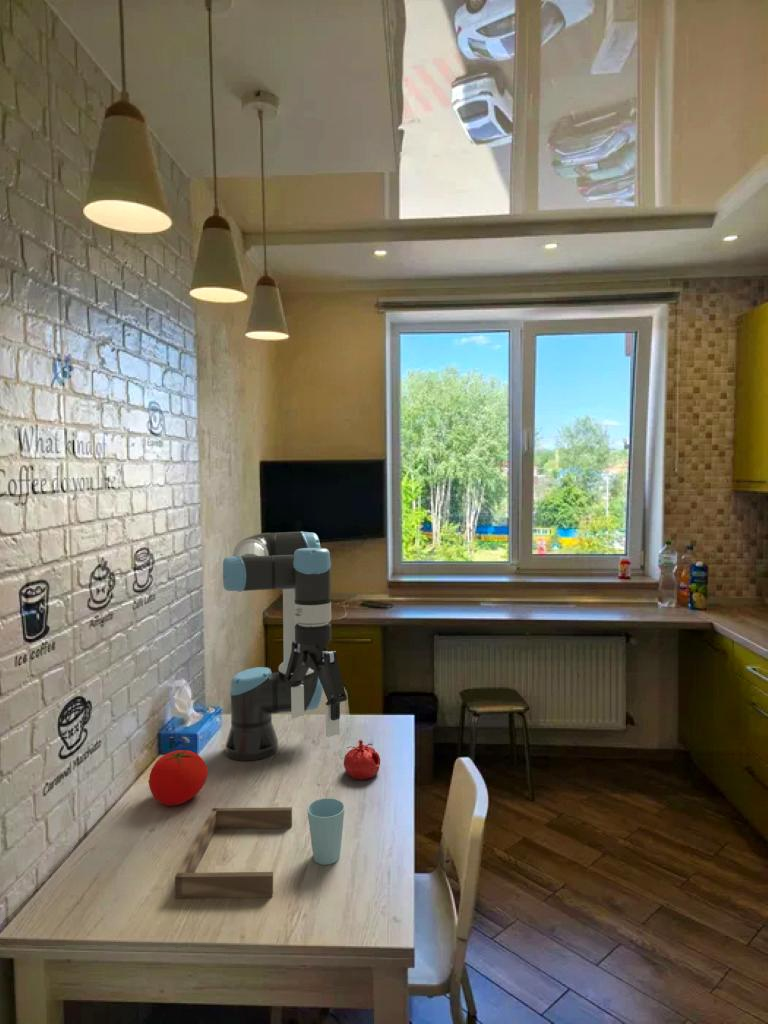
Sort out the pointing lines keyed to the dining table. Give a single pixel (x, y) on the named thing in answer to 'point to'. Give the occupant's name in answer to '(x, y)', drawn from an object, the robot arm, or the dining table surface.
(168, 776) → the tomato
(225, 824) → the corral
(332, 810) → the cup
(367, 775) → the pomegranate
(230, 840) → the dining table surface
